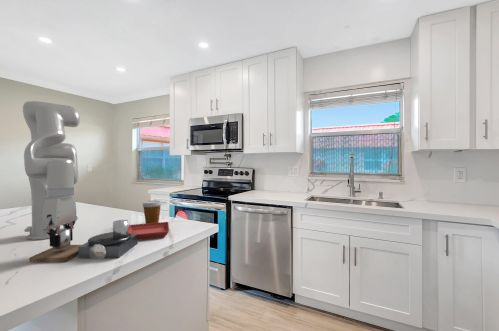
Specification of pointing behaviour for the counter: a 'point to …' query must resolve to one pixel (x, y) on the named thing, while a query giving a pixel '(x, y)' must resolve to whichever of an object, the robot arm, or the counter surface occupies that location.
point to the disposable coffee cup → (152, 211)
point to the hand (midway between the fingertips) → (61, 242)
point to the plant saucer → (149, 230)
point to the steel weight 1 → (64, 238)
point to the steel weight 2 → (120, 229)
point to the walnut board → (56, 255)
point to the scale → (107, 246)
